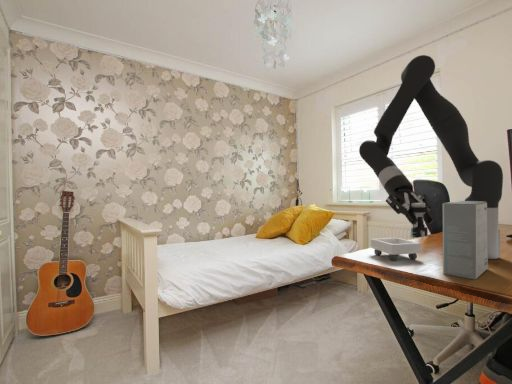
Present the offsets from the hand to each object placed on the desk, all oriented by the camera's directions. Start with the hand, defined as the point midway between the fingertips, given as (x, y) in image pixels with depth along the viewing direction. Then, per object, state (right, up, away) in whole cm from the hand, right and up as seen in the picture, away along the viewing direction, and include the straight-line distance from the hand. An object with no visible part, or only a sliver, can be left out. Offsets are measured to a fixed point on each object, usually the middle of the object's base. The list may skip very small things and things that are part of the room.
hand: (423, 222), depth 82 cm
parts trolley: (-1, -14, +14) cm, 20 cm away
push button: (-1, -5, +2) cm, 5 cm away
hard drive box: (+11, -14, -2) cm, 18 cm away
